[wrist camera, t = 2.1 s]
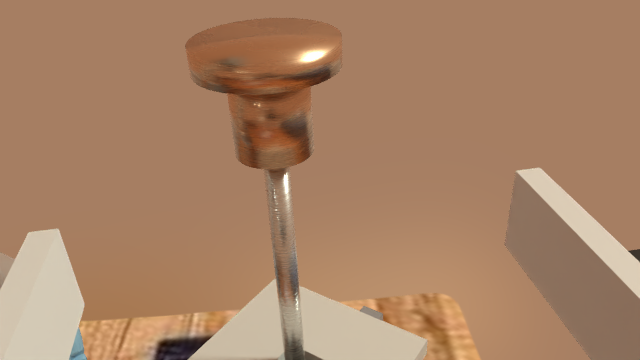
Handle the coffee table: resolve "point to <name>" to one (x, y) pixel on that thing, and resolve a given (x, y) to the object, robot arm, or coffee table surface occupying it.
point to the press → (311, 332)
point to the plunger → (271, 121)
